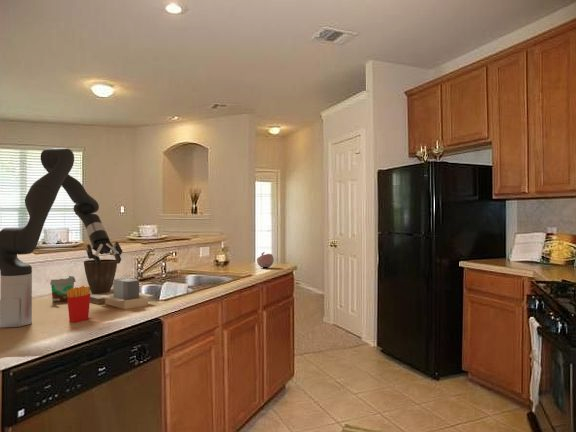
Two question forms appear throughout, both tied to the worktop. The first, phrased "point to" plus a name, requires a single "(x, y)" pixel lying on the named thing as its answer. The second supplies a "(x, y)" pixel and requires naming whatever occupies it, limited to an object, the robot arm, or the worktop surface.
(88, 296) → the french fries
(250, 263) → the worktop surface
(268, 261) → the apple
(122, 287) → the slim box
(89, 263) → the plant pot
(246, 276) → the worktop surface
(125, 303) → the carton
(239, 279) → the worktop surface
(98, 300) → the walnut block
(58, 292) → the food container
